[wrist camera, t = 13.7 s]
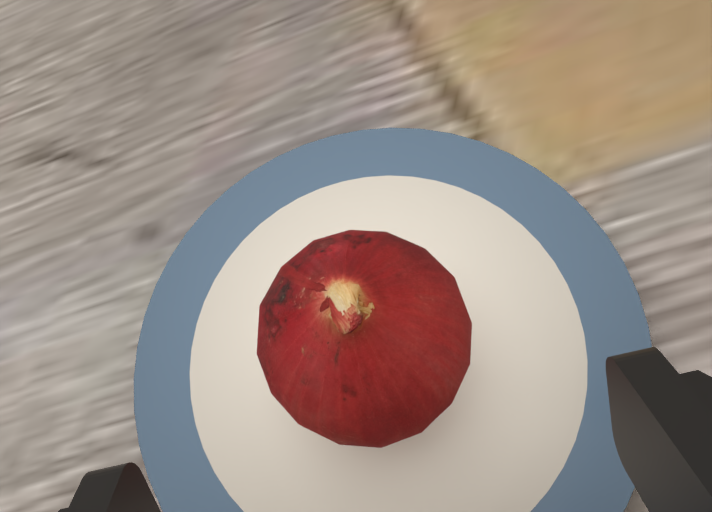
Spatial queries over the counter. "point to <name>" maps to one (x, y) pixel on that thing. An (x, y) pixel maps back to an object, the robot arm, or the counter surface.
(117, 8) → the counter surface
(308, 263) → the onion
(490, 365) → the dish
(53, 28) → the counter surface
